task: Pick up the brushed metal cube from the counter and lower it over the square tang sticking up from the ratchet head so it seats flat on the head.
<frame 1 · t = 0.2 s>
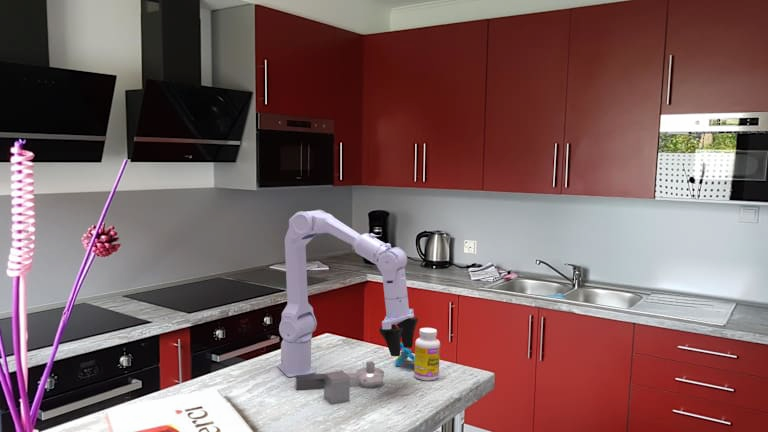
hand: (402, 351, 144), 10 cm above the countertop, tool pointing down, fingers open, 7 cm apart
brushed metal cube: (336, 399, 140), on the countertop
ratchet: (370, 383, 151), on the countertop
blue branched piece: (407, 366, 165), on the countertop
supplement bottle: (426, 377, 156), on the countertop
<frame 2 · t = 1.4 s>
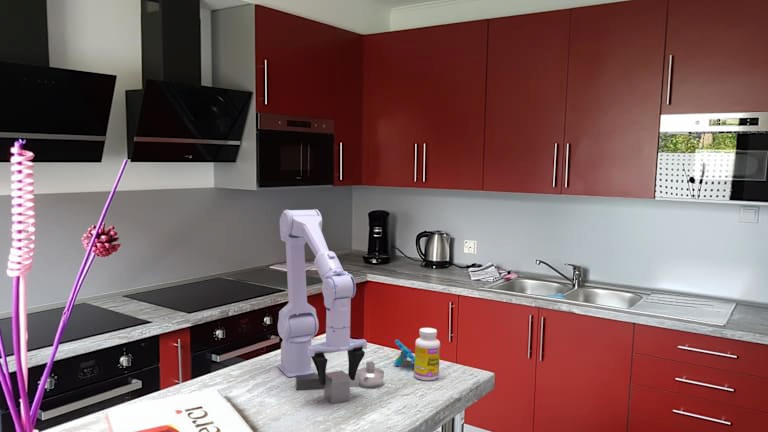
hand: (337, 381, 139), 4 cm above the countertop, tool pointing down, fingers open, 7 cm apart
nothing on the countertop moved.
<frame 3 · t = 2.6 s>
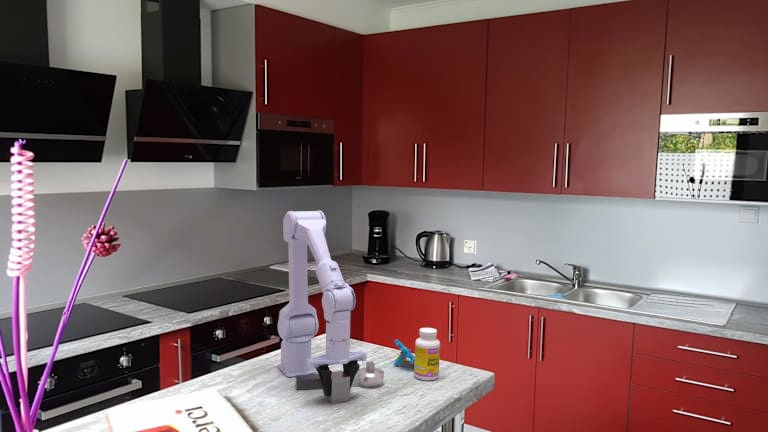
hand: (336, 393, 140), 1 cm above the countertop, tool pointing down, fingers closed on brushed metal cube, 5 cm apart
brushed metal cube: (336, 399, 140), on the countertop, touching gripper
everything else where it was.
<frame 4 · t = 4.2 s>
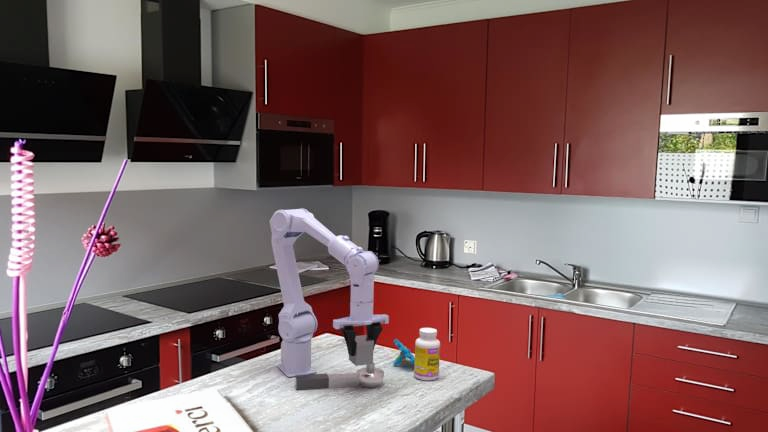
hand: (360, 353, 146), 9 cm above the countertop, tool pointing down, fingers closed on brushed metal cube, 5 cm apart
brushed metal cube: (360, 361, 146), point 7 cm above the countertop, touching gripper
everything else where it was.
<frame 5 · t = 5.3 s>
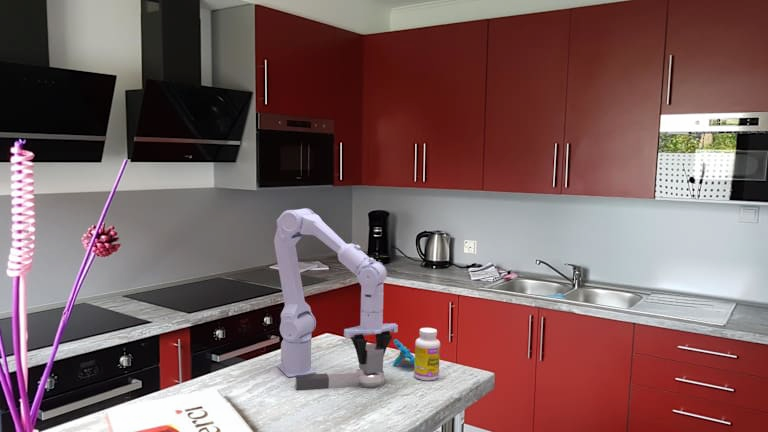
hand: (370, 361, 150), 6 cm above the countertop, tool pointing down, fingers closed on brushed metal cube, 5 cm apart
brushed metal cube: (370, 369, 150), point 4 cm above the countertop, touching gripper
everything else where it was.
when the fingers open (6 cm above the countertop, at t = 6.2 s): brushed metal cube stays where it is, resting on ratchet.
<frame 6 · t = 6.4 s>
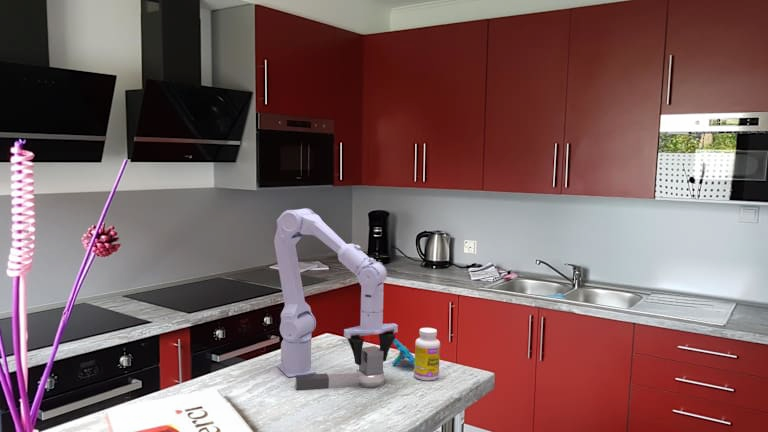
hand: (370, 362, 150), 6 cm above the countertop, tool pointing down, fingers open, 7 cm apart
brushed metal cube: (370, 372, 150), point 3 cm above the countertop, touching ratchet
everything else where it was.
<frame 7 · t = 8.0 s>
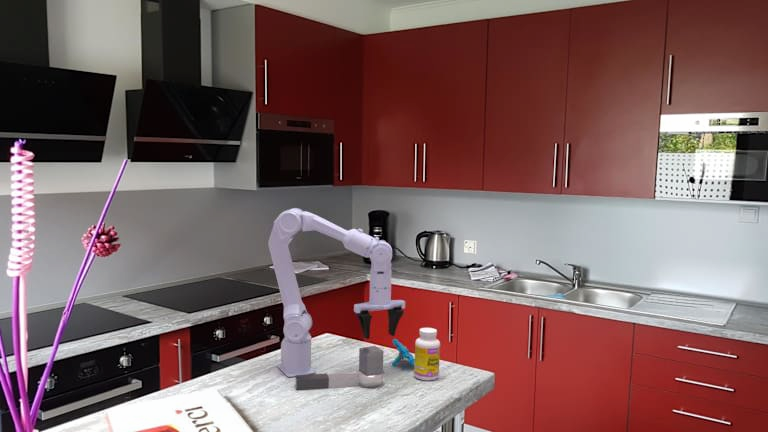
hand: (379, 336, 157), 10 cm above the countertop, tool pointing down, fingers open, 7 cm apart
nothing on the countertop moved.
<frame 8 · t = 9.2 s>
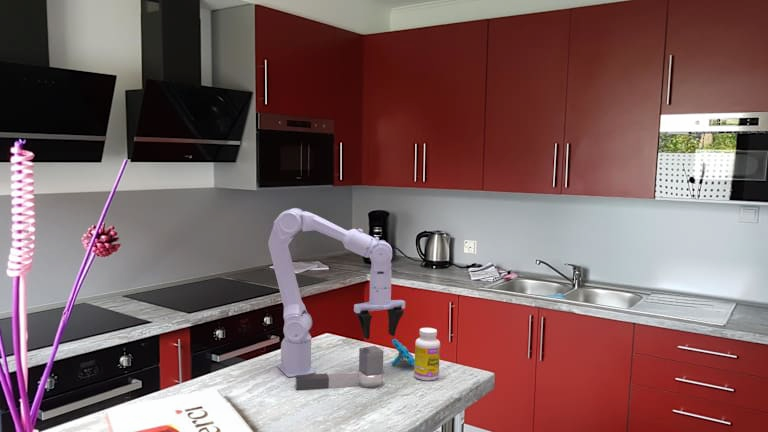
hand: (379, 336, 157), 10 cm above the countertop, tool pointing down, fingers open, 7 cm apart
nothing on the countertop moved.
at the end: brushed metal cube 0.2 cm off-centre on the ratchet, point 3.0 cm above the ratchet's base; brushed metal cube tilted 0°; the gripper is holding nothing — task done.
